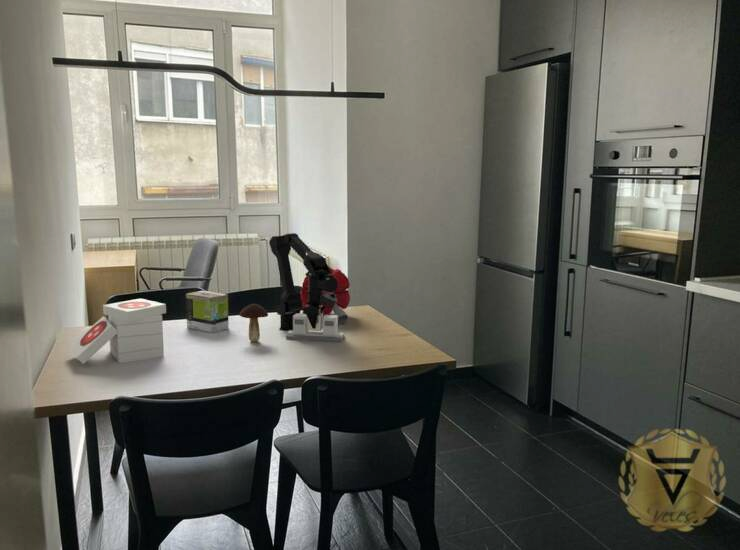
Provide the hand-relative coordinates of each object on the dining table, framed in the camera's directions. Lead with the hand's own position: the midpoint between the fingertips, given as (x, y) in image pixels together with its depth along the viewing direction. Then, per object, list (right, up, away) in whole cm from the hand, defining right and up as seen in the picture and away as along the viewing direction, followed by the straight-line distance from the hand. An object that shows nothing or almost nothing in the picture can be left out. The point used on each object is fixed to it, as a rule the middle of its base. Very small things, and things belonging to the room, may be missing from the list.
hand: (315, 326), depth 236 cm
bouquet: (+2, +1, +34) cm, 34 cm away
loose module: (0, -1, 0) cm, 1 cm away
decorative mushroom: (-23, -5, -7) cm, 25 cm away
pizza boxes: (-66, -8, -28) cm, 72 cm away
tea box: (-46, -2, +12) cm, 48 cm away
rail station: (0, -4, +1) cm, 4 cm away
